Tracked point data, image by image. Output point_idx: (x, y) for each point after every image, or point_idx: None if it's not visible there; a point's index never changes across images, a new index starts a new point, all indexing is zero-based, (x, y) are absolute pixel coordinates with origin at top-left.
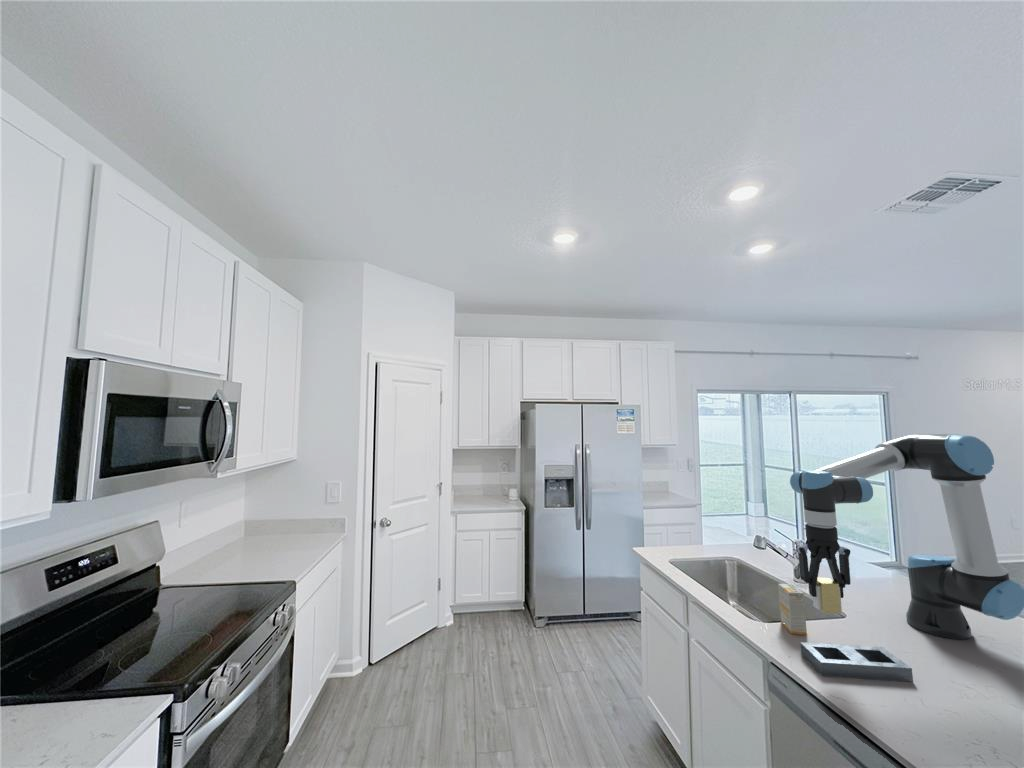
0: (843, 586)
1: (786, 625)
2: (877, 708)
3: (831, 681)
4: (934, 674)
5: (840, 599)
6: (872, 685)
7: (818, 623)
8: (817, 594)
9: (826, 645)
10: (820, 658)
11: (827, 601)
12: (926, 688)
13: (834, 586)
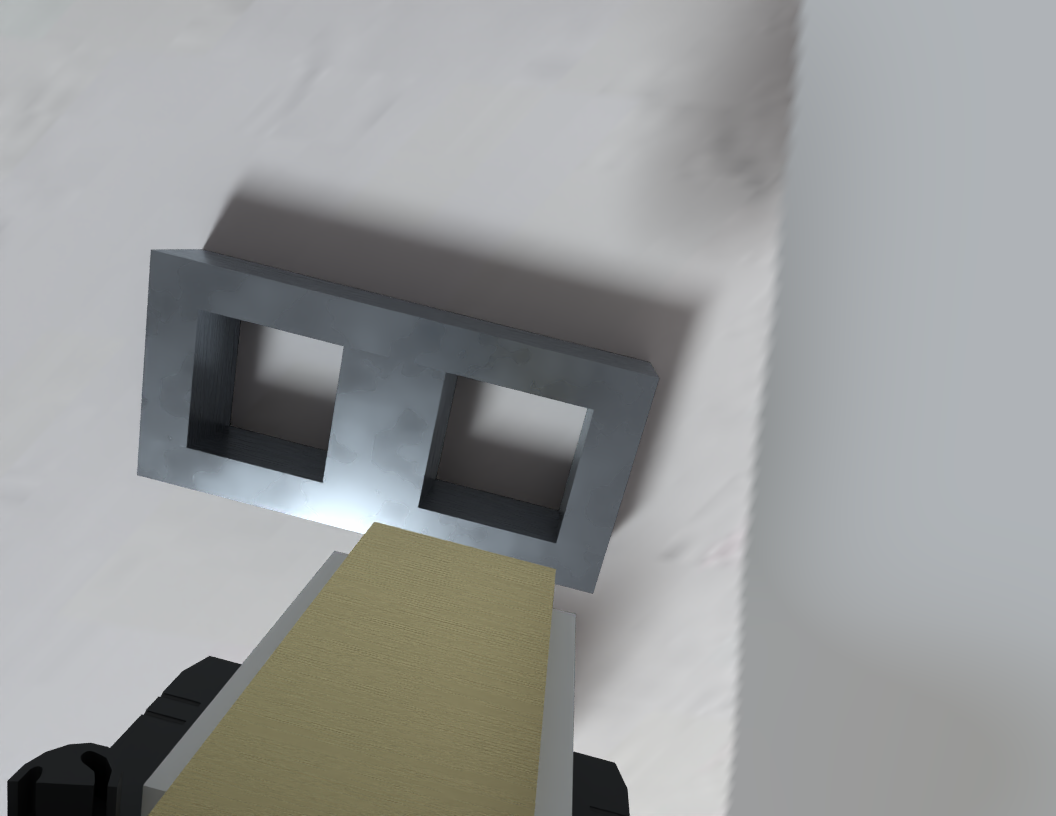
0: (69, 770)
1: None
2: (604, 48)
3: (640, 310)
4: (33, 301)
5: (271, 635)
6: (443, 249)
7: None
8: (570, 764)
9: (459, 539)
10: (623, 417)
11: (481, 637)
12: (178, 192)
13: (264, 802)
